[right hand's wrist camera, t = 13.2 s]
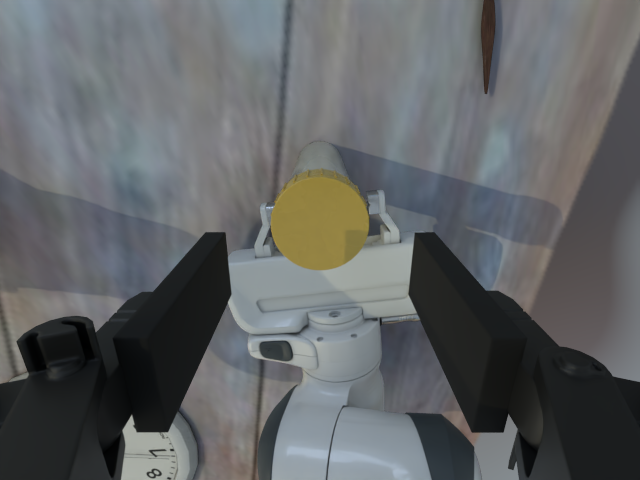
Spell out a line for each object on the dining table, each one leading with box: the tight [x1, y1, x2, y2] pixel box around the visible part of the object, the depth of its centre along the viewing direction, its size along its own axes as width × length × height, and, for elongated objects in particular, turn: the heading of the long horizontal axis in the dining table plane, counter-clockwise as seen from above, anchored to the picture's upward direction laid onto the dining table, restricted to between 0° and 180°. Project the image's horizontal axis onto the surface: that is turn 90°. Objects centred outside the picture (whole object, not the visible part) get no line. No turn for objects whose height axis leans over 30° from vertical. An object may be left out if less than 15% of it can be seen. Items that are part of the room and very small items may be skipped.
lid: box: [271, 168, 370, 270], centre depth 19 cm, size 5×5×2 cm
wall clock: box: [9, 372, 198, 480], centre depth 51 cm, size 30×2×30 cm
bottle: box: [289, 141, 351, 181], centre depth 28 cm, size 5×5×19 cm
